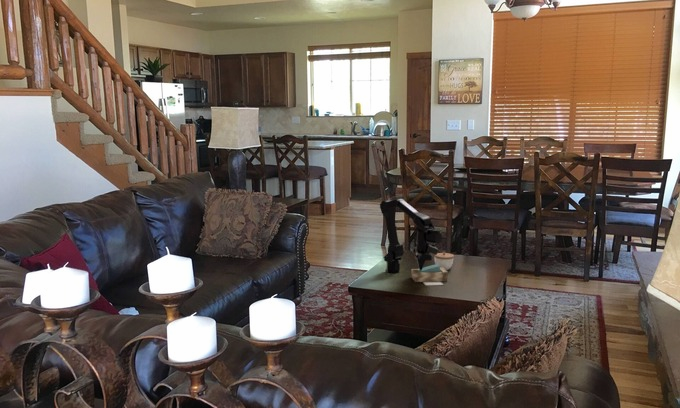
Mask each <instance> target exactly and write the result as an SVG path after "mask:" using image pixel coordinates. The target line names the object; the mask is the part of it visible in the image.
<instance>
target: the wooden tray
mask: <svg viewBox="0 0 680 408" xmlns="http://www.w3.org/2000/svg"><path fill="white" fill-rule="evenodd" d="M440 271H441V272H421V273H420V272H419V268H411V276H410V278H411V279H412V280H413V281H414V282H415V283H421V282H422V283H423V282H448V275H449V271H448V270H445V269H444V268H443V267H442V268H440Z"/></svg>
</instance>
